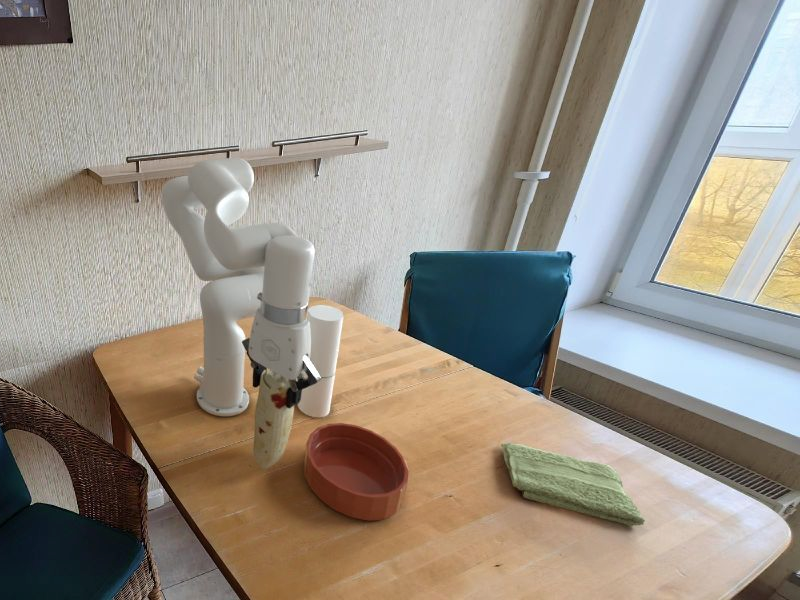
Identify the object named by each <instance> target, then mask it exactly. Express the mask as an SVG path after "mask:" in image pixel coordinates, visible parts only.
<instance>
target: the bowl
mask: <svg viewBox="0 0 800 600" xmlns="http://www.w3.org/2000/svg"><path fill="white" fill-rule="evenodd" d="M305 444H306V445H305V451H304V459H303V471H304V472H303V473H304V477H305V480H306V482H307V484H308V486H309V488H310V489H311V490H312V492H313V493H314V495H316V496H317V497H318V499H319V500H320V501H322V502H323V503H324V504H325V505H327V506H328V507H330V508H331V509H333V510H334V511H336V512H338V513H341V514H343V515H345V516H347V517H350V518H354V519H359V520H363V521H381V520H386V519H387V518H389V517H391V516H393V515H396V513H397V512H398V511H399V510H400V509H401V507H402V506H403V503H404V499H405V495H406V491H407V487H408V482H409V474H410V471H409V468H408V467H409V466H408V465H407V462H406V460H405V457H404V456H403V455H402V453H401V452H400V451H399V450H398V448H397V447H396V446H395V445H393V444H392V443H391V442H390V441H388V440H387V438H385V437H384V436H382V435H380V434H378V433H376V432H374V431H373V430H371V429H368V428H365V427H362V426H360V425H357V424H351V423H343V422H337V423H326V424H324V425H321V426H319V427H317V428H315V429H314V430H313V431H312V432H311V433H310V434H309V436H308V438H307V441H306V442H305Z"/></svg>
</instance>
